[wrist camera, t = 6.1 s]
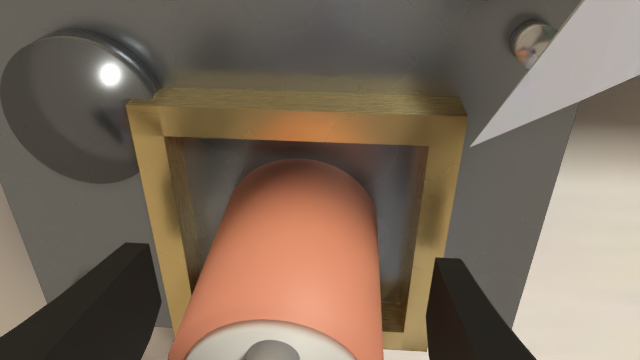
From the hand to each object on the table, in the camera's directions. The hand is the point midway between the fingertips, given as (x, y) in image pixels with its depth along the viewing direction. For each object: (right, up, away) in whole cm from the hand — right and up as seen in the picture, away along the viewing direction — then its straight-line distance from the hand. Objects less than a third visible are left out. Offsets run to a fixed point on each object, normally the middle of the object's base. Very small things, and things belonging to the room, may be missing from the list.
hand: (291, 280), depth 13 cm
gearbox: (-1, +4, +4) cm, 6 cm away
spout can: (0, +1, +2) cm, 3 cm away
